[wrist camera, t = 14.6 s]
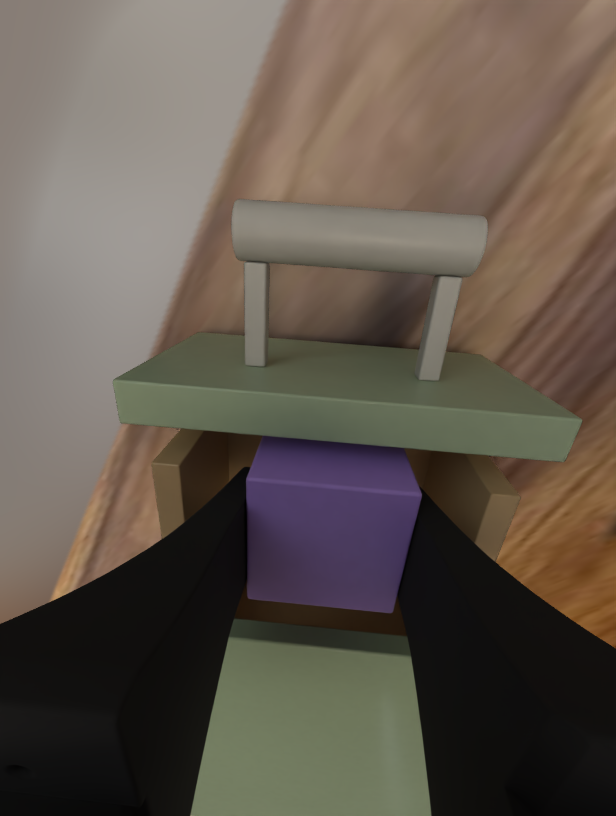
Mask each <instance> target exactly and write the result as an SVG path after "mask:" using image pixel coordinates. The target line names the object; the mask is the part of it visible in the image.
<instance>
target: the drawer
mask: <svg viewBox="0 0 616 816" xmlns="http://www.w3.org/2000/svg"><path fill="white" fill-rule="evenodd" d="M231 230H232V242H233V248H234V252H235V255H236V258H237V259H238V260H240V261H247V262H245V263H244V315H245V336H241V335H229V334H216V333H204V332H198V333H196V334H194V335H193V336H191V337H189V338H187V339H185V340H184V341H182V342H180V343H178V344H176V345H175V346H173V347H171V348H169V349H167V350H166V351H164V352H162V353H160V354H159V355H157V356H155V357H153V358H151V359H150V360H148V361H146V362H144V363H142V364H141V365H139V366H137V367H135V368H133V369H132V370H130V371H128V372H126V373H124V374H123V375H121V376H119V377H117V378H115V379H114V380H113V386H114V391H115V397H116V403H117V409H118V415H119V420H120V423H125V424H136V425H147V426H159V427H170V428H181V430H180V431H179V432H178V433H177V434H176V435H175V437H174V438H173V439H172V440H171V441H170V442H169V443H168V445H167V446H166V447H165V448H164V449H163V450H162V451H161V453H160V454H159V455H158V456H157V457H156V458H155V459H154V461H153V462H152V472H153V479H154V486H155V493H156V500H157V507H158V514H159V522H160V529H161V536H162V539H163V538H164V537H166V536H167V535H168V534H170V533H171V532H172V531H174V530H175V529H176V528H178V527H179V526H180V525H182V524H183V523H184V522H185V521H186V520H188V519H189V518H190V517H191V516H192V515H194V514H195V513H196V512H197V511H198V510H200V509H201V508H202V507H203V506H204V505H205V504H206V503H207V502H208V501H210V500H211V499H212V498H213V497H214V496H215V495H216V494H217V493H218V492H219V491H220V490H221V489H222V488H223V487H224V486H225V485H226V484H227V483H228V482H229V481H230V480H231V479H232V478H233V477H234V476H235V475H236V474H237V473H238V472H239V471H240V470H241V469H242V468H244V467H251V465H252V463H253V460H254V457H255V455H256V452H257V450H258V447H259V444H260V442H261V439H262V436H272V437H283V438H295V439H306V440H317V441H329V442H340V443H351V444H363V445H374V446H385V447H397V448H404V449H405V452H406V455H407V457H408V460H409V462H410V465H411V467H412V470H413V473H414V475H415V478H416V480H417V483H418V485H419V486H420V487H421V488H422V489H423V490H424V491H425V492H426V494H427V495H428V496H429V497H430V498H431V499H432V500H433V501H434V502H435V503H436V505H437V506H438V507H439V508H440V509H441V510H442V511H443V512H444V513H445V514H446V515H447V516H448V517H449V518H450V519H451V520H452V521H453V523H454V524H455V525H456V526H457V527H458V528H459V529H460V530H461V531H462V532H463V533H464V534H465V535H466V536H467V537H469V538H470V539H471V540H472V541H473V542H474V543H475V544H476V545H477V546H478V547H479V548H480V549H481V550H482V551H483V552H485V553H486V554H487V555H488V556H489V557H490V558H491V559H492V560H494V561H495V562H496V559H497V557H498V554H499V552H500V549H501V547H502V544H503V542H504V539H505V536H506V534H507V531H508V529H509V526H510V524H511V521H512V519H513V516H514V514H515V511H516V509H517V506H518V504H519V501H520V499H521V496H520V495H519V494H518V492H517V491H516V490H515V489H514V487H513V486H512V485H511V484H510V482H509V481H508V480H507V479H506V477H505V476H504V475H503V474H502V472H501V471H500V470H499V469H498V467H497V466H496V465H495V464H494V462H493V461H492V460H491V459H490V457H489V456H498V457H510V458H521V459H532V460H544V461H555V462H564V461H565V460H566V458H567V456H568V453H569V451H570V449H571V447H572V444H573V442H574V440H575V437H576V435H577V433H578V431H579V428H580V426H581V424H582V419H581V418H579V417H578V416H576V415H574V414H573V413H571V412H570V411H568V410H567V409H565V408H563V407H562V406H560V405H559V404H557V403H556V402H554V401H553V400H551V399H549V398H548V397H546V396H545V395H543V394H542V393H540V392H538V391H537V390H535V389H534V388H532V387H531V386H529V385H527V384H526V383H524V382H523V381H521V380H520V379H518V378H517V377H515V376H513V375H512V374H510V373H509V372H507V371H506V370H504V369H502V368H501V367H499V366H498V365H496V364H495V363H493V362H491V361H490V360H488V359H487V358H485V357H484V356H482V355H479V354H466V353H454V352H446V348H447V344H448V340H449V335H450V331H451V327H452V322H453V318H454V314H455V310H456V305H457V301H458V297H459V293H460V288H461V284H462V278H461V277H469V276H471V275H472V274H473V273H474V272H475V271H476V269H477V267H478V266H479V264H480V261H481V259H482V257H483V254H484V251H485V247H486V242H487V236H488V223H487V220H486V218H485V217H484V216H479V215H465V214H450V213H436V212H421V211H407V210H392V209H377V208H363V207H348V206H334V205H319V204H305V203H290V202H276V201H261V200H246V199H238V200H236V201H235V203H234V206H233V211H232V222H231ZM269 263H278V264H291V265H305V266H319V267H332V268H346V269H359V270H373V271H386V272H400V273H413V274H427V275H436V276H434V278H433V283H432V288H431V293H430V298H429V303H428V308H427V313H426V318H425V323H424V328H423V333H422V338H421V343H420V348H419V350H416V349H404V348H391V347H379V346H366V345H354V344H341V343H329V342H316V341H304V340H291V339H279V338H268V336H269V286H270V265H269ZM234 618H237V619H247V620H256V621H266V622H276V623H285V624H295V625H305V626H314V627H324V628H333V629H343V630H353V631H362V632H372V633H382V634H391V635H401V636H407V634H406V629H405V625H404V621H403V617H402V613H401V609H400V605H399V601H398V596H397V598H396V602H395V606H394V610H393V612H392V613H383V612H373V611H363V610H353V609H344V608H334V607H324V606H314V605H304V604H294V603H284V602H274V601H264V600H254V599H249V598H248V597H247V580H246V583H245V586H244V589H243V592H242V596H241V599H240V602H239V605H238V608H237V611H236V614H235V617H234Z"/></svg>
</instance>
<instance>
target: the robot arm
mask: <svg viewBox="0 0 616 816" xmlns="http://www.w3.org/2000/svg"><path fill="white" fill-rule="evenodd" d="M250 468H251V467H244V468H242V469H241V470H240V471H239V472H238V473H237V474H236V475H235V476H234V477H233V478H232V479H231V480H230V481H229V482H228V483H227V484H226V485H225V486H224V487H223V488H222V489H221V490H220V491H219V492H218V493H217V494H216V495H215V496H214V497H213V498H212V499H211V500H210V501H208V502H207V503H206V504H205V505H204V506H203V507H202V508H201V509H200V510H198V511H197V512H196V513H195V514H194V515H192V516H191V517H190V518H189V519H188V520H186V521H185V522H184V523H183V524H182V525H180V526H179V527H178V528H176V529H175V530H174V531H172V532H171V533H170V534H168V535H167V536H166V537H164V538H163V539H161V540H160V541H159V542H157V543H156V544H154V545H153V546H151V547H150V548H148V549H147V550H145V551H144V552H142V553H140V554H139V555H137V556H135V557H134V558H132V559H130V560H129V561H127V562H125V563H124V564H122V565H120V566H119V567H117V568H116V569H114V570H112V571H110V572H109V573H107V574H105V575H103V576H101V577H99V578H97V579H96V580H94V581H92V582H90V583H88V584H86V585H84V586H82V587H80V588H78V589H76V590H74V591H72V592H70V593H68V594H66V595H64V596H62V597H60V598H58V599H56V600H54V601H51V602H49V603H47V604H45V605H42V606H40V607H38V608H36V609H33V610H31V611H29V612H27V613H24V614H22V615H20V616H18V617H15V618H13V619H11V620H9V621H6V622H4V623H1V624H0V816H190V815H191V810H192V805H193V800H194V795H195V790H196V785H197V780H198V775H199V771H200V766H201V761H202V756H203V752H204V747H205V742H206V737H207V733H208V728H209V723H210V718H211V714H212V709H213V705H214V700H215V696H216V691H217V687H218V682H219V678H220V673H221V669H222V665H223V660H224V656H225V652H226V647H227V643H228V639H229V634H230V631H231V627H232V624H233V620H234V617H235V614H236V611H237V608H238V605H239V602H240V599H241V596H242V592H243V589H244V586H245V583H246V580H247V527H246V478H247V476H248V473H249V471H250ZM419 488H420V491H421V493H422V498H421V502H420V506H419V510H418V514H417V518H416V522H415V526H414V530H413V534H412V538H411V542H410V546H409V550H408V554H407V558H406V562H405V566H404V570H403V574H402V578H401V582H400V586H399V590H398V594H397V596H398V601H399V605H400V609H401V613H402V617H403V621H404V625H405V629H406V634H407V638H408V643H409V648H410V653H411V659H412V666H413V673H414V680H415V686H416V693H417V701H418V708H419V716H420V723H421V731H422V738H423V747H424V755H425V764H426V772H427V781H428V789H429V798H430V808H431V816H616V648H614V647H612V646H611V645H609V644H608V643H606V642H604V641H603V640H601V639H600V638H598V637H597V636H595V635H593V634H592V633H590V632H589V631H587V630H586V629H584V628H583V627H581V626H580V625H578V624H577V623H575V622H574V621H572V620H571V619H569V618H568V617H566V616H565V615H564V614H562V613H561V612H559V611H558V610H557V609H555V608H554V607H552V606H551V605H550V604H548V603H547V602H545V601H544V600H543V599H541V598H540V597H538V596H537V595H536V594H534V593H533V592H532V591H530V590H529V589H528V588H527V587H525V586H524V585H523V584H521V583H520V582H519V581H518V580H516V579H515V578H514V577H513V576H512V575H510V574H509V573H508V572H507V571H505V570H504V569H503V568H502V567H500V566H499V565H498V564H497V563H496V562H495V561H494V560H492V559H491V558H490V557H489V556H488V555H487V554H486V553H485V552H483V551H482V550H481V549H480V548H479V547H478V546H477V545H476V544H475V543H474V542H473V541H472V540H471V539H470V538H469V537H467V536H466V535H465V534H464V533H463V532H462V531H461V530H460V529H459V528H458V527H457V526H456V525H455V524H454V523H453V521H452V520H451V519H450V518H449V517H448V516H447V515H446V514H445V513H444V512H443V511H442V510H441V509H440V508H439V507H438V506H437V505H436V503H435V502H434V501H433V500H432V499H431V498H430V497H429V496H428V495H427V494H426V492H425V491H424V490H423V489H422V488H421V487H420V486H419Z"/></svg>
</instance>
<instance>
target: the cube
mask: <svg viewBox="0 0 616 816" xmlns="http://www.w3.org/2000/svg"><path fill="white" fill-rule="evenodd" d="M421 498H422V493H421V491H420V488H419V485H418V483H417V480H416V478H415V475H414V473H413V470H412V467H411V465H410V462H409V460H408V457H407V455H406V452H405V449H404V448H397V447H385V446H374V445H363V444H351V443H340V442H329V441H317V440H306V439H295V438H283V437H272V436H262V439H261V442H260V444H259V447H258V450H257V452H256V455H255V457H254V460H253V463H252V465H251V468H250V471H249V473H248V476H247V478H246V527H247V597H248V598H249V599H254V600H264V601H274V602H284V603H294V604H304V605H314V606H324V607H334V608H344V609H353V610H363V611H373V612H383V613H392V612H393V610H394V606H395V602H396V598H397V594H398V590H399V586H400V582H401V578H402V574H403V570H404V566H405V562H406V558H407V554H408V550H409V546H410V542H411V538H412V534H413V530H414V526H415V522H416V518H417V514H418V510H419V506H420V502H421Z"/></svg>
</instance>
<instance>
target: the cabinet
mask: <svg viewBox="0 0 616 816" xmlns="http://www.w3.org/2000/svg"><path fill="white" fill-rule="evenodd" d="M191 816H431V808H430V798H429V789H428V781H427V772H426V764H425V755H424V747H423V738H422V731H421V723H420V716H419V708H418V701H417V693H416V686H415V680H414V673H413V666H412V659H411V653H410V648H409V643H408V638H407V636H401V635H391V634H382V633H372V632H362V631H353V630H343V629H333V628H324V627H314V626H305V625H295V624H285V623H276V622H266V621H256V620H247V619H237V618H234V620H233V624H232V627H231V631H230V634H229V639H228V643H227V647H226V652H225V656H224V660H223V665H222V669H221V673H220V678H219V682H218V687H217V691H216V696H215V700H214V705H213V709H212V714H211V718H210V723H209V728H208V733H207V737H206V742H205V747H204V752H203V756H202V761H201V766H200V771H199V775H198V780H197V785H196V790H195V795H194V800H193V805H192V810H191Z"/></svg>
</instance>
